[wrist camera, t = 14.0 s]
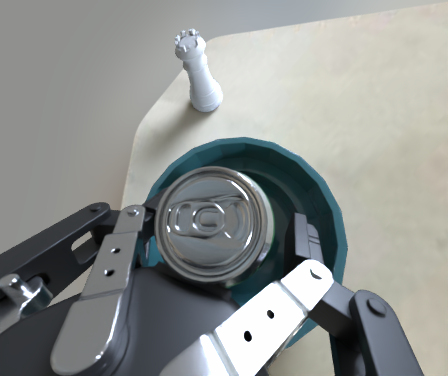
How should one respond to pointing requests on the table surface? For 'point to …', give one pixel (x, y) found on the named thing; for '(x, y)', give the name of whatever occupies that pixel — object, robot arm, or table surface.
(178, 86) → the table surface
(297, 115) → the table surface
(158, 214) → the soda can
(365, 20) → the table surface
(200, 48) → the rook chess piece
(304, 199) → the teal serving bowl
